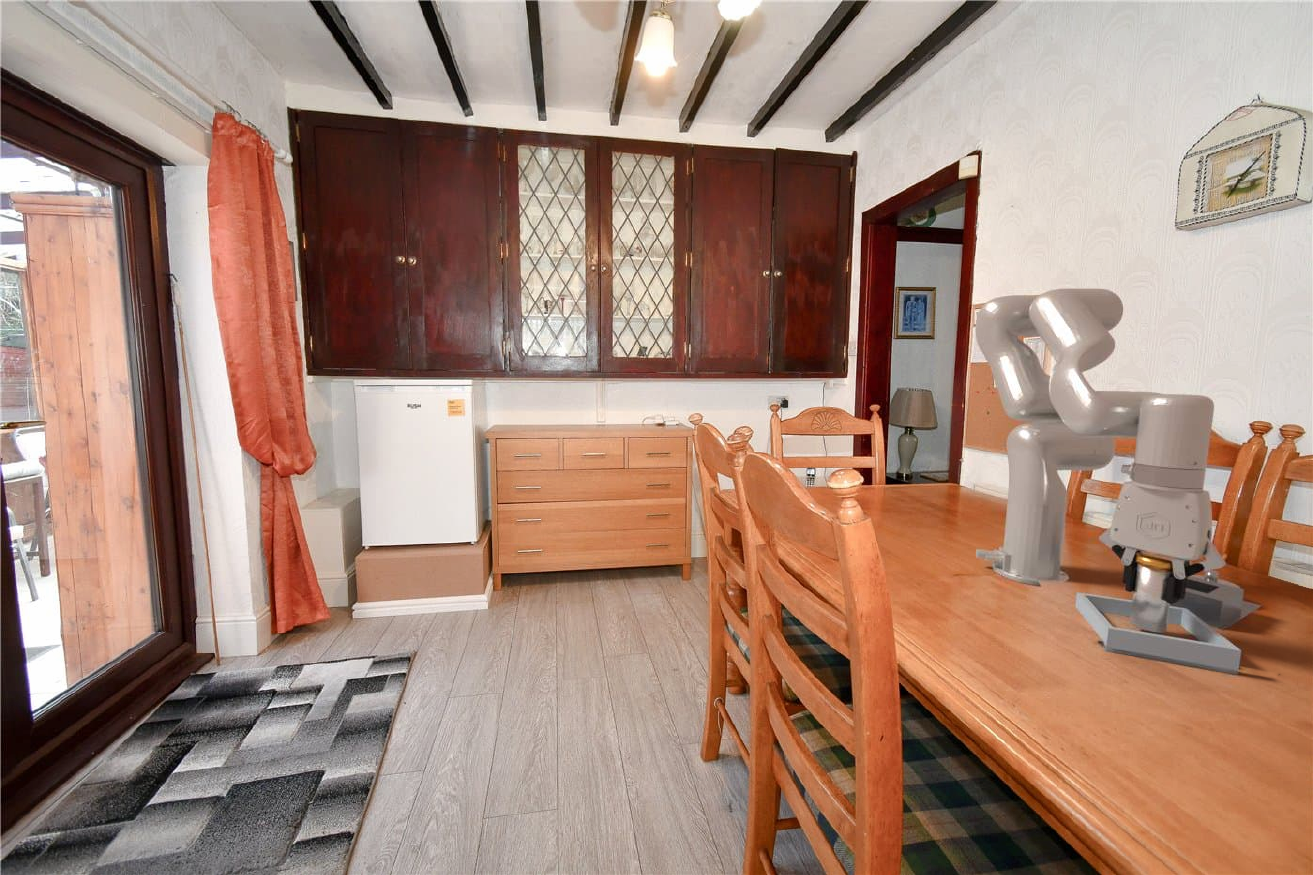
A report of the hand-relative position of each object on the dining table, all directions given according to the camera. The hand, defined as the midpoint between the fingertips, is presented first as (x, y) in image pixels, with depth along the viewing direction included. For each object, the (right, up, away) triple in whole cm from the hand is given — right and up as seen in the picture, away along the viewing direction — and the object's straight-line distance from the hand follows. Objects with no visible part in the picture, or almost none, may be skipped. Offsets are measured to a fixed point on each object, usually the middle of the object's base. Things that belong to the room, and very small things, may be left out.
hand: (1151, 594), depth 77 cm
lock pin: (0, -5, +1) cm, 5 cm away
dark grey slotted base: (+19, -6, +11) cm, 23 cm away
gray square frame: (0, -7, +1) cm, 7 cm away
